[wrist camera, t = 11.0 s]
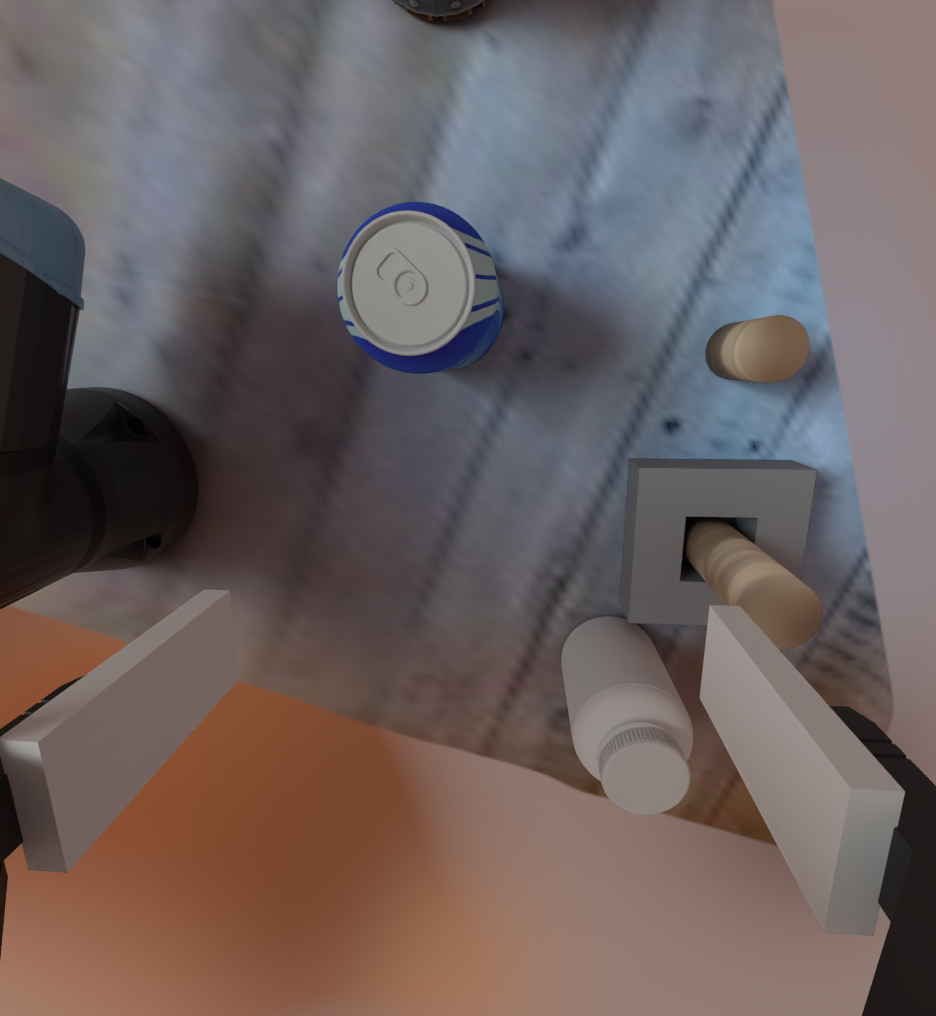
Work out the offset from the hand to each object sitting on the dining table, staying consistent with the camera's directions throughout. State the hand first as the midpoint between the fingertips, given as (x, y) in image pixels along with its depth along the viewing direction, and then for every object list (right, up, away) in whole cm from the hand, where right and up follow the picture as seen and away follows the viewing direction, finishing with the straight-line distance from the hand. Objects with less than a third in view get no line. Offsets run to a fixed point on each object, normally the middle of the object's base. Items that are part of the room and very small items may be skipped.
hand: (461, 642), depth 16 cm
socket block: (+19, +2, +30) cm, 35 cm away
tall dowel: (+19, +2, +30) cm, 35 cm away
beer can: (-1, +18, +27) cm, 33 cm away
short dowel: (+20, +15, +26) cm, 36 cm away
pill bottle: (+12, -9, +33) cm, 36 cm away
